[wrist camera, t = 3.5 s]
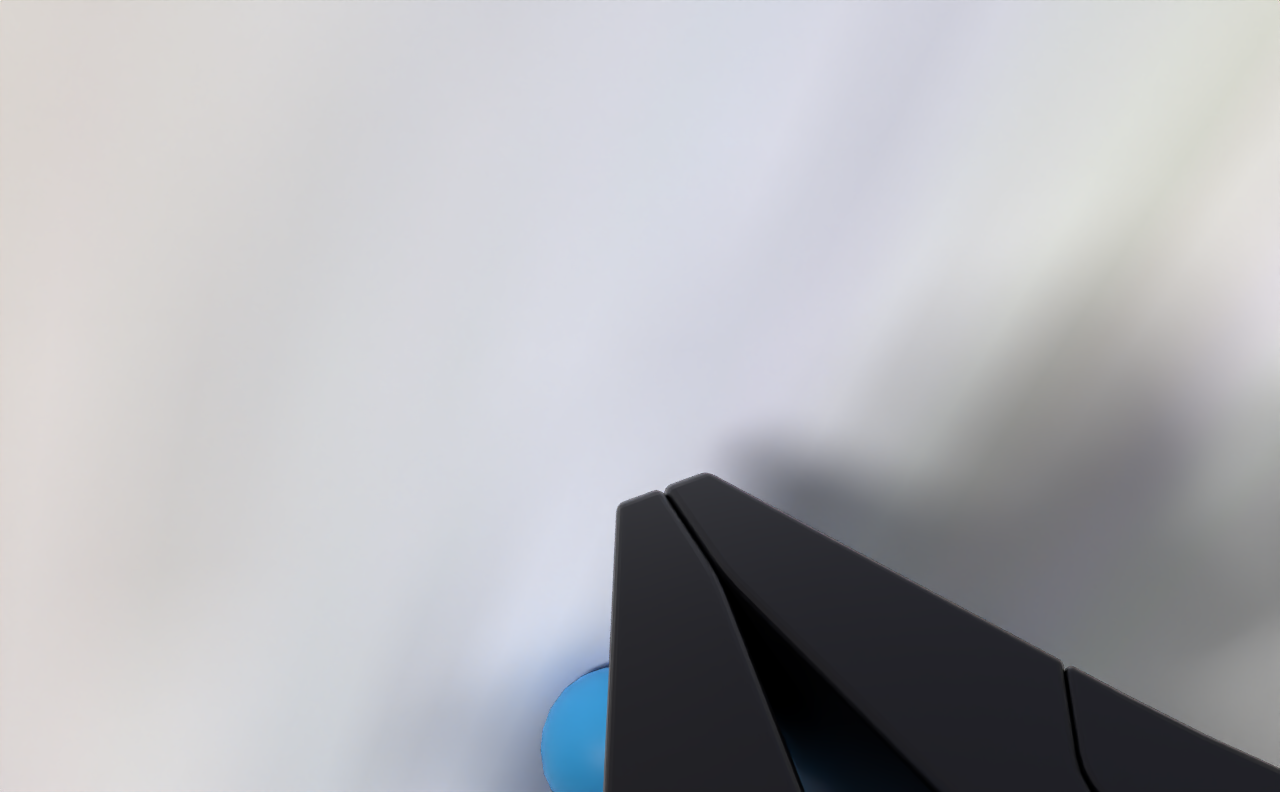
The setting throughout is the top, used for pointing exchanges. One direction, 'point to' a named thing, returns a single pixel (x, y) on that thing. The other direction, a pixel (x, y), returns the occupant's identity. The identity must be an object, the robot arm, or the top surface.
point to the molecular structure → (577, 736)
